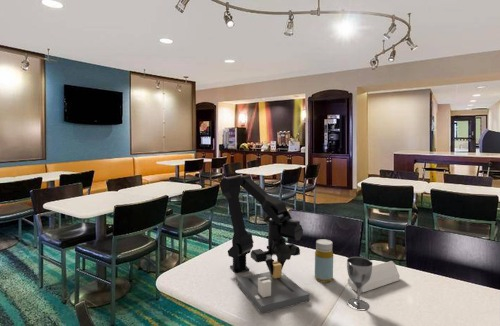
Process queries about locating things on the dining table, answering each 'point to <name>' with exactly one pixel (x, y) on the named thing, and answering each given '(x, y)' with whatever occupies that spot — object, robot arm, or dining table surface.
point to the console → (273, 292)
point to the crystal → (379, 276)
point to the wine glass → (359, 278)
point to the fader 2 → (277, 270)
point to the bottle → (324, 260)
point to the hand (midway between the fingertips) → (275, 273)
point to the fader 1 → (264, 286)
